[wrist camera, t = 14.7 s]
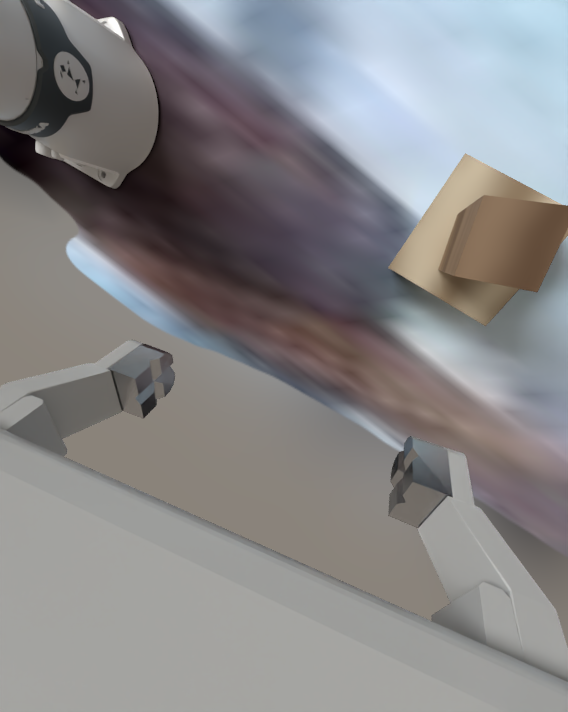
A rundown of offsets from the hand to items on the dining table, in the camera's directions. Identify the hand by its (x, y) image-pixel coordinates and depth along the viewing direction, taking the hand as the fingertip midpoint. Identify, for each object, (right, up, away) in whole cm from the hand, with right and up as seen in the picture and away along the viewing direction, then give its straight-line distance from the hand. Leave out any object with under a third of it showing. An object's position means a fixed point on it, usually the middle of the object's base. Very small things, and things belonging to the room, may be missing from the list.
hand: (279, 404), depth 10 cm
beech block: (+20, +14, +24) cm, 34 cm away
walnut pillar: (+18, +12, +18) cm, 28 cm away
